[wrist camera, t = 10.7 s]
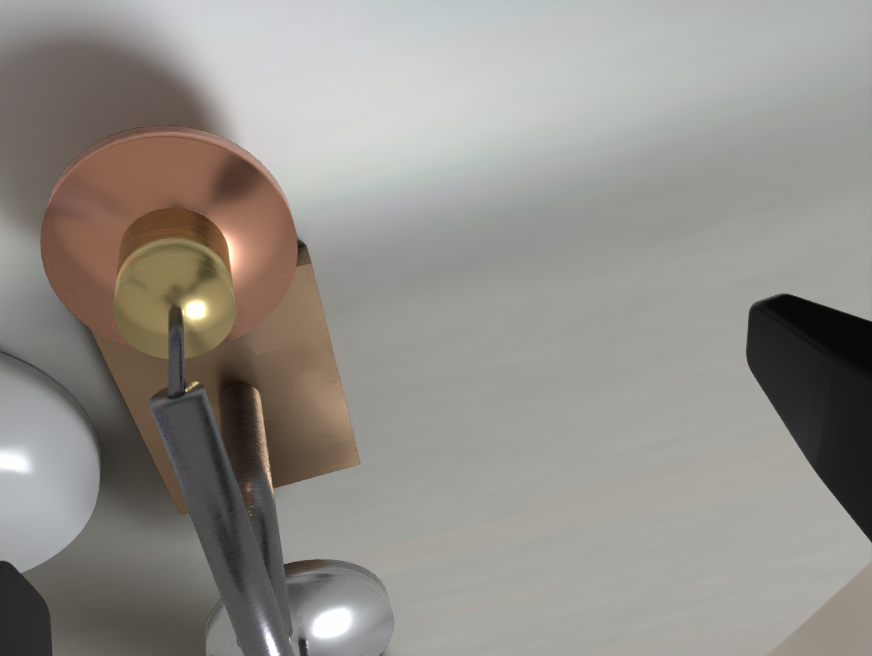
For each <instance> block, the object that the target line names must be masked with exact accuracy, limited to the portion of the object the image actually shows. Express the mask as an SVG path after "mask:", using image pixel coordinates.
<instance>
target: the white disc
mask: <svg viewBox="0 0 872 656" xmlns="http://www.w3.org/2000/svg"><path fill="white" fill-rule="evenodd" d="M100 474H101V449H100V443H99V439H98V436H97V433H96V430H95V428H94V425H93V424H92V422H91V420H90V418H89V417H88V415H87V413H86V412H85V410H84V409H83V408H82V407H81V405H80V404H79V403H78V402H77V400H76V399H75V398H74V397H73V396H72V395H71V394H70V393H69V392H67V391H66V390H65V389H64V388H63V387H62V386H61V385H60V384H58V383H57V382H56V381H54V380H53V379H51V378H50V377H49V376H47V375H46V374H44V373H43V372H41V371H39V370H37V369H36V368H34V367H32V366H30V365H28V364H27V363H25V362H22V361H20V360H18V359H15V358H13V357H11V356H9V355H6V354H4V353H1V352H0V561H1V560H4V561H7V562H9V563H11V564H12V565H13V566H14V567H15V568H16V569H17V570H18V571H19V572H20V573H23V572H25V571H28V570H30V569H32V568H34V567H36V566H38V565H40V564H42V563H44V562H45V561H47V560H48V559H50V558H51V557H53V556H54V555H56V554H57V553H59V552H60V551H61V550H63V549H64V548H65V547H66V546H67V545H68V544H70V543H71V542H72V541H73V540H74V539H75V538H76V536H77V535H78V534H79V533H80V532H81V531H82V530H83V528H84V527H85V525H86V523H87V522H88V520H89V519H90V517H91V515H92V512H93V510H94V508H95V505H96V501H97V497H98V492H99V484H100Z"/></svg>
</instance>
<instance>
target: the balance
mask: <svg viewBox="0 0 872 656" xmlns="http://www.w3.org/2000/svg"><path fill="white" fill-rule="evenodd" d="M40 243H41V256H42V260H43V265H44V269H45V272H46V274H47V277H48V279H49V282H50V284H51V286H52V287H53V289H54V291H55V293H56V294H57V296H58V297H59V299H60V300H61V301H62V302H63V304H64V305H65V306H66V307H67V309H68V310H69V311H70V312H71V313H73V314H74V315H75V316H76V317H77V318H78V319H79V320H80V321H81V322H83V323H84V324H85V325H87V326H88V327H89V328H90V330H91V332H92V334H93V336H94V338H95V340H96V342H97V344H98V346H99V348H100V350H101V352H102V355H103V357H104V359H105V361H106V363H107V365H108V367H109V369H110V371H111V373H112V375H113V377H114V380H115V382H116V384H117V386H118V388H119V390H120V392H121V394H122V396H123V398H124V400H125V402H126V404H127V407H128V409H129V411H130V413H131V415H132V417H133V419H134V421H135V423H136V425H137V427H138V429H139V432H140V434H141V436H142V438H143V440H144V442H145V444H146V446H147V448H148V450H149V452H150V454H151V456H152V459H153V461H154V463H155V465H156V467H157V469H158V471H159V473H160V475H161V477H162V479H163V481H164V484H165V486H166V488H167V490H168V492H169V494H170V496H171V498H172V500H173V502H174V504H175V506H176V509H177V511H178V513H179V514H183V513H186V512H189V513H190V516H191V518H192V521H193V524H194V526H195V529H196V532H197V534H198V537H199V539H200V542H201V545H202V547H203V550H204V553H205V555H206V558H207V561H208V563H209V566H210V568H211V571H212V574H213V576H214V579H215V582H216V584H217V587H218V590H219V592H220V595H221V598H222V599H221V600H220V601H219V602H218V603H217V604H216V606H215V607H214V608H213V610H212V612H211V613H210V615H209V617H208V620H207V624H206V630H205V642H206V656H379V655H380V654H381V653H382V652H383V650H384V649H385V647H386V646H387V644H388V643H389V641H390V639H391V636H392V633H393V629H394V617H393V613H392V609H391V605H390V601H389V597H388V593H387V591H386V588H385V586H384V584H383V583H382V581H381V580H380V579H379V578H378V577H377V576H376V575H375V574H373V573H372V572H370V571H369V570H367V569H365V568H363V567H361V566H358V565H355V564H352V563H348V562H344V561H338V560H319V559H317V560H304V561H298V562H292V563H288V564H283V557H282V549H281V542H280V535H279V528H278V521H277V513H276V506H275V499H274V492H273V488H276V487H280V486H284V485H287V484H291V483H295V482H298V481H302V480H305V479H309V478H313V477H316V476H320V475H323V474H327V473H331V472H334V471H338V470H341V469H345V468H349V467H352V466H356V465H359V464H361V463H360V459H359V455H358V451H357V447H356V443H355V439H354V435H353V431H352V427H351V423H350V418H349V414H348V410H347V406H346V402H345V398H344V394H343V390H342V386H341V382H340V378H339V374H338V370H337V365H336V361H335V357H334V353H333V349H332V345H331V341H330V337H329V333H328V329H327V325H326V321H325V317H324V313H323V308H322V304H321V300H320V296H319V292H318V288H317V284H316V280H315V276H314V272H313V268H312V264H311V260H310V256H309V253H308V249H307V245H306V246H302V247H297V236H296V230H295V226H294V222H293V218H292V214H291V211H290V208H289V205H288V202H287V199H286V197H285V195H284V193H283V191H282V189H281V187H280V185H279V184H278V182H277V181H276V180H275V178H274V177H273V175H272V174H271V173H270V172H269V171H268V169H267V168H266V167H265V166H264V165H263V164H262V163H261V162H260V161H259V160H257V159H256V158H255V157H254V156H253V155H252V154H250V153H249V152H248V151H246V150H245V149H243V148H241V147H240V146H238V145H237V144H235V143H233V142H231V141H229V140H227V139H225V138H223V137H221V136H218V135H215V134H212V133H209V132H207V131H203V130H199V129H194V128H190V127H182V126H172V125H161V126H147V127H140V128H134V129H130V130H126V131H123V132H119V133H116V134H114V135H112V136H109V137H107V138H104V139H102V140H101V141H99V142H97V143H95V144H94V145H92V146H90V147H89V148H87V149H86V150H85V151H84V152H82V153H81V154H80V155H78V156H77V157H76V158H75V159H74V160H73V161H72V162H71V163H70V164H69V165H68V167H67V168H66V169H65V170H64V171H63V173H62V174H61V176H60V177H59V179H58V180H57V182H56V184H55V186H54V188H53V191H52V193H51V195H50V198H49V202H48V206H47V209H46V213H45V217H44V220H43V224H42V230H41V240H40Z"/></svg>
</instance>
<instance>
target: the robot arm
mask: <svg viewBox="0 0 872 656" xmlns="http://www.w3.org/2000/svg"><path fill="white" fill-rule="evenodd" d="M746 357H747V362H748V365H749V367H750V370H751V372H752V373H753V375H754V377H755V378H756V380H757V381H758V383H759V385H760V386H761V388H762V389H763V391H764V392H765V394H766V396H767V397H768V399H769V400H770V402H771V404H772V405H773V407H774V408H775V410H776V411H777V413H778V415H779V416H780V418H781V419H782V421H783V422H784V424H785V426H786V427H787V429H788V430H789V432H790V434H791V435H792V437H793V438H794V440H795V441H796V443H797V445H798V446H799V448H800V449H801V451H802V452H803V454H804V456H805V457H806V459H807V460H808V462H809V463H810V464H811V466H812V467H813V469H814V470H815V472H816V473H817V474H818V476H819V477H820V478H821V480H822V481H823V482H824V484H825V485H826V486H827V488H828V489H829V490H830V491H831V493H832V494H833V495H834V496H835V497H836V499H837V500H838V501H839V502H840V504H841V505H842V506H843V507H844V509H845V510H846V511H847V512H848V514H849V515H850V516H851V517H852V519H853V520H854V521H855V522H856V524H857V525H858V526H859V527H860V529H861V530H862V531H863V532H864V534H865V535H866V536H867V537H868V539H869V540H870V541H871V542H872V321H869V320H866V319H863V318H860V317H857V316H854V315H851V314H848V313H845V312H842V311H839V310H836V309H833V308H830V307H827V306H824V305H821V304H818V303H815V302H812V301H809V300H806V299H803V298H800V297H797V296H794V295H790V294H778V295H775V296H772V297H769V298H766V299H763V300H760V301H757V302H755V303H754V304H753V305H752V306H751V308H750V310H749V318H748V332H747V346H746ZM0 656H52V641H51V624H50V614H49V610H48V607H47V604H46V603H45V601H44V599H43V598H42V596H41V595H40V594H39V593H38V592H37V591H36V590H35V589H34V587H33V586H32V585H31V584H30V583H29V582H28V581H27V580H26V579H25V578H24V577H23V575H22V574H21V573H20V572H19V571H18V570H17V569H16V568H15V567H14V566H13V565H12V564H11V563H9V562H7V561H4V560H1V561H0Z"/></svg>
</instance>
